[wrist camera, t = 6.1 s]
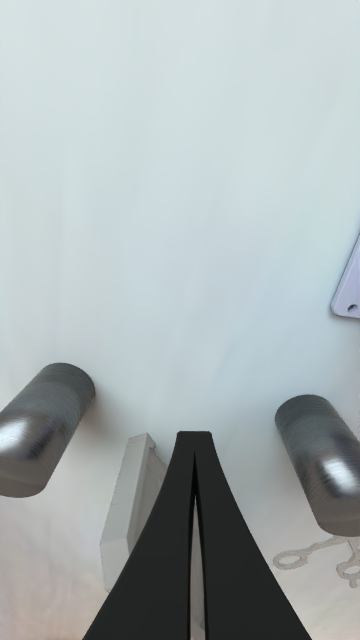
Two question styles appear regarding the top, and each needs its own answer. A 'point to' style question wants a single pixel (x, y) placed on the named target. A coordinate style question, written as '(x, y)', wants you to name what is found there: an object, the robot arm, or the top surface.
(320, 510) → the post
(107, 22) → the top surface
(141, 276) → the top surface
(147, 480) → the light switch
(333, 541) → the scissors
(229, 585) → the robot arm
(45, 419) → the post
